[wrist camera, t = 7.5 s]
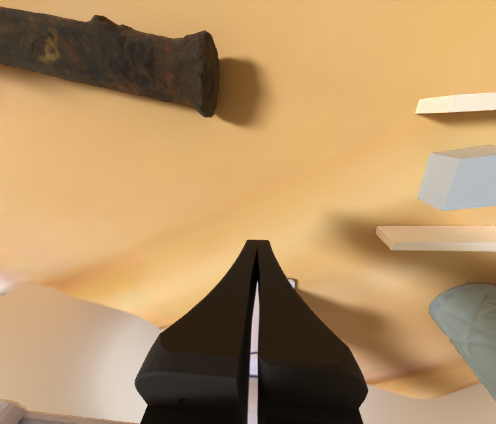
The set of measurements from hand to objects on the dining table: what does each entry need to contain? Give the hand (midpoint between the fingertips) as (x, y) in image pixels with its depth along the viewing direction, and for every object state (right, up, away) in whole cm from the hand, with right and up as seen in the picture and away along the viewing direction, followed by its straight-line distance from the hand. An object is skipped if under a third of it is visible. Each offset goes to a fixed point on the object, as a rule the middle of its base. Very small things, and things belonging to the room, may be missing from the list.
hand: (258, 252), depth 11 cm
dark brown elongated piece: (-14, +15, +5) cm, 21 cm away
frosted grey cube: (+19, +6, +6) cm, 20 cm away
